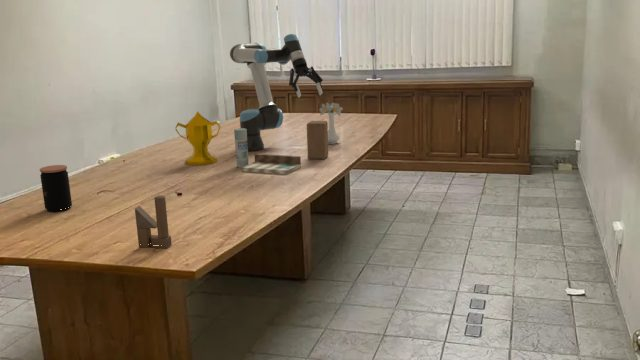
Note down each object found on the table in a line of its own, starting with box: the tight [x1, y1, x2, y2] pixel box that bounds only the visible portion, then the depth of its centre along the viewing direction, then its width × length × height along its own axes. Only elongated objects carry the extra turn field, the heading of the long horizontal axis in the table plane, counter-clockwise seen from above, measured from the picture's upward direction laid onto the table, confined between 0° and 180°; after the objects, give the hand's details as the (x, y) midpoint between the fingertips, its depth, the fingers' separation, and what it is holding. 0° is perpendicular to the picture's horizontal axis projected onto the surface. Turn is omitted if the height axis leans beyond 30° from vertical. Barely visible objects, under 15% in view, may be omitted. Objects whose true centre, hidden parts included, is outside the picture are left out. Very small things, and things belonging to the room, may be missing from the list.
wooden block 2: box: [134, 195, 172, 249], centre depth 219 cm, size 4×11×18 cm, turn 80°
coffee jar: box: [39, 164, 73, 213], centre depth 269 cm, size 11×11×18 cm
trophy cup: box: [175, 111, 222, 166], centre depth 350 cm, size 18×24×28 cm
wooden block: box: [306, 120, 329, 160], centre depth 353 cm, size 10×10×20 cm
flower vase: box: [318, 102, 344, 145], centre depth 393 cm, size 13×18×25 cm
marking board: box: [241, 153, 302, 175], centre depth 330 cm, size 26×16×6 cm, turn 67°
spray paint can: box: [233, 127, 249, 169], centre depth 336 cm, size 6×6×20 cm
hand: (310, 95), depth 344 cm, fingers open, 13 cm apart
